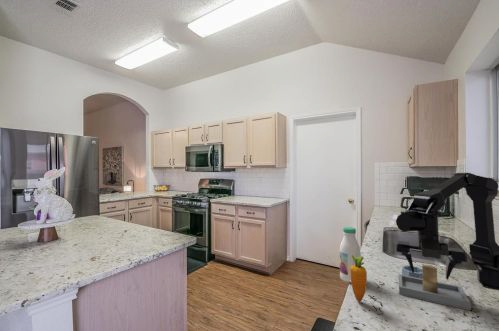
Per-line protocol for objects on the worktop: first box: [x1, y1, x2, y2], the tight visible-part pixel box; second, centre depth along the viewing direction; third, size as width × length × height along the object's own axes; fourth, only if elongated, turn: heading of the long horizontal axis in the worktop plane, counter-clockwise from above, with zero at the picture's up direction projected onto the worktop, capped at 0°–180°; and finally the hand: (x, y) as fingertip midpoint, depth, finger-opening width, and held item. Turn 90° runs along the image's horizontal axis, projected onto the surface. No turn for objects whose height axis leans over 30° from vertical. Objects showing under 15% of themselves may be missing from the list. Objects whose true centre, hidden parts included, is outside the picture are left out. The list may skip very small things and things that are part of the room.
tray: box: [398, 273, 472, 311], centre depth 78 cm, size 18×12×2 cm, turn 57°
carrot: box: [350, 255, 368, 303], centre depth 74 cm, size 5×5×15 cm
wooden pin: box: [421, 264, 438, 294], centre depth 79 cm, size 4×4×8 cm
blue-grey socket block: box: [401, 264, 423, 279], centre depth 92 cm, size 8×8×3 cm
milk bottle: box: [339, 226, 362, 284], centre depth 90 cm, size 8×8×20 cm
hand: (429, 275), depth 79 cm, fingers open, 9 cm apart
